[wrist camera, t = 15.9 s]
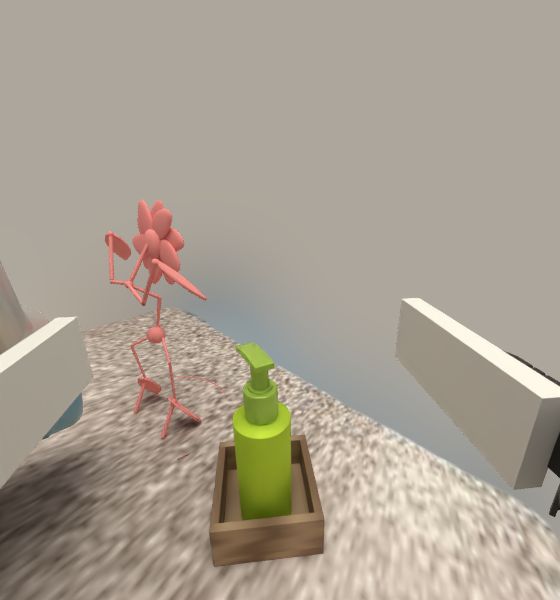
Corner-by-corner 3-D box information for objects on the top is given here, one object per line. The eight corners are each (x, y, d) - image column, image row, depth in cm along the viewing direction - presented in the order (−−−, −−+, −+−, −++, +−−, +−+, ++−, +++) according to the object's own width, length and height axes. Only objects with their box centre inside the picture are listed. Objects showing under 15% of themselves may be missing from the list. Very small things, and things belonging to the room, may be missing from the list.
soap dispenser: (273, 471, 40) (267, 333, 33) (301, 517, 34) (301, 362, 28) (230, 491, 38) (215, 347, 31) (253, 545, 32) (241, 382, 25)
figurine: (188, 472, 41) (151, 200, 30) (109, 396, 57) (66, 200, 46) (266, 413, 52) (260, 198, 41) (182, 364, 68) (160, 199, 57)
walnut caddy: (214, 566, 31) (209, 532, 29) (223, 471, 41) (219, 442, 40) (323, 553, 32) (324, 519, 30) (304, 463, 42) (304, 434, 41)
